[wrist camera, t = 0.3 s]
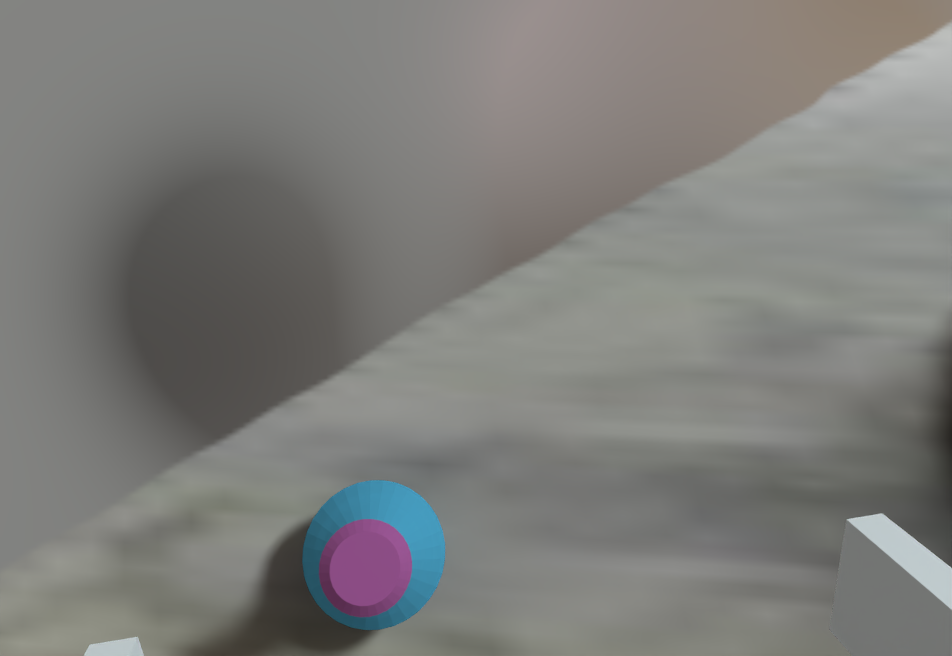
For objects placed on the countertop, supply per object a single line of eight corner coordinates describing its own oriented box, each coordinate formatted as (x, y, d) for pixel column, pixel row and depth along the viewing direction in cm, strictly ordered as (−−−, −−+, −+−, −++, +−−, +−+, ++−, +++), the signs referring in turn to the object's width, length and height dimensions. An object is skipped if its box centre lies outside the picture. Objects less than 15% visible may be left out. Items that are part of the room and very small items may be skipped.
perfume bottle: (447, 607, 44) (467, 656, 30) (315, 625, 43) (270, 686, 29) (435, 476, 47) (448, 463, 32) (310, 489, 45) (266, 482, 31)
